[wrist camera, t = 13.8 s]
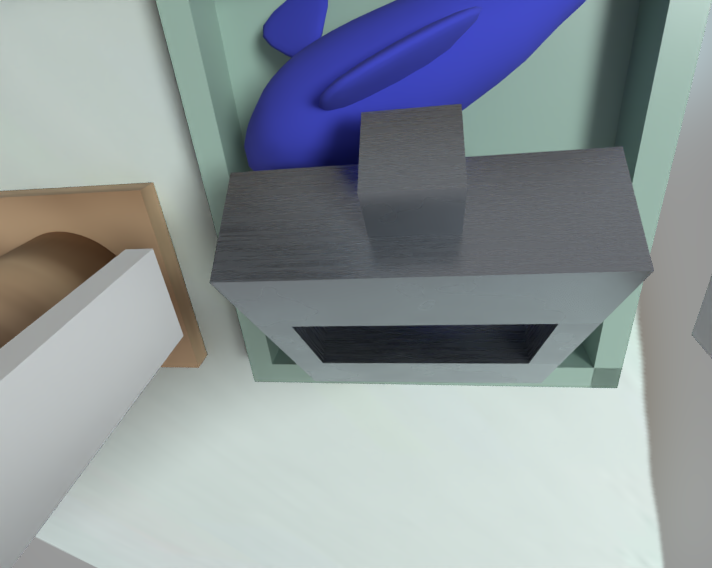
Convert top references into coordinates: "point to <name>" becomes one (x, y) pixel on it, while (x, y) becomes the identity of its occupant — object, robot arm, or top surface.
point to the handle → (83, 252)
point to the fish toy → (384, 69)
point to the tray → (470, 121)
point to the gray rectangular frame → (432, 255)
